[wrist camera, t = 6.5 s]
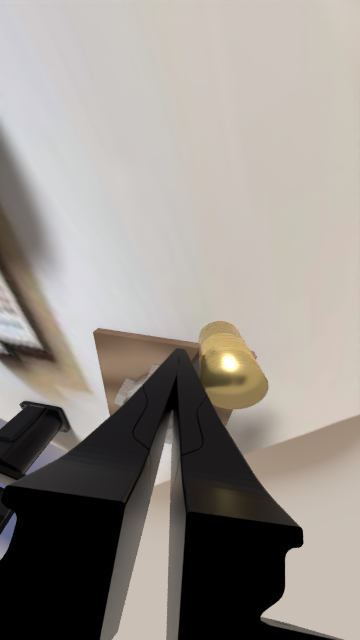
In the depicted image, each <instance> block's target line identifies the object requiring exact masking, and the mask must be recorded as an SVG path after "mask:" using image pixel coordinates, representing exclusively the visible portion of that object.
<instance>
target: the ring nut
mask: <svg viewBox="0 0 360 640" xmlns="http://www.w3.org/2000/svg"><path fill="white" fill-rule="evenodd" d="M192 363H193V365H194V367H195V369H196V372H197V374H198V376H199V378H200V380H201V382H202V384H203V386H204V388H205V390H206V392H207V394H208V396H209V398H210V400H211V402H212V404H213V405H215V406H217V407H220V408H225V409H242V408H247V407H250V406H252V405H254V404H256V403H258V402H259V401H261V400H262V399H263V398H264V396H265V395H266V393H267V391H268V381H267V379H266V377H265V375H264V374H263V372H262V370H261V369H260V367H259V365H258V363H257V362H256V360H255V358H254V357H253V355H252V353H251V352H250V350H249V348H248V347H247V345H246V343H245V341H244V340H243V338H242V336H241V335H240V333H239V331H238V330H237V328H236V327H235V326H234V325H232V324H230V323H228V322H224V321H217V322H213V323H210V324H208V325H206V326H205V327H204V328H203V329H202V330H201V332H200V334H199V351H198V352H197V354H196V355H195V357H194V358H193V359H192ZM159 366H160V365H152V366H151V369H150V371H149V373H147V374H144V375H142V376H140V377H139V378H137V379H136V380H135V381H134V380H132V379H129V378H126V380H125V382H124V383H123V385H122V387H121V388H120V390H119V392H118V394H117V396H116V399H115V401H114V403H115V404H117V405H120V406H122V405H123V404H124V403H125V402H126V401H127V400H128V399H129V398H130V397H131V396H132V395H133V394H134V393H135V392H136V391H137V390H138V389H139V388H140V387H141V386H142V385H143V383H144V382H145V381H146V380H147V379H148V378H149V377H150V376H151V375H152V374H153V373H154V371H155V370H156V369H157V368H158V367H159ZM172 420H173V410H172V414H171V418H170V422H169V426H168V430H167V434H166V438H165V442H164V443H169V444H172Z"/></svg>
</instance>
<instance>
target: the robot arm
mask: <svg viewBox="0 0 360 640" xmlns="http://www.w3.org/2000/svg"><path fill="white" fill-rule="evenodd" d="M20 406H21V408H22V409H23V410H22V411H21V412H19V413H18V414H17V415H16V416H15V417H14V418H13V419H11V420H10V421H9V422H8V423H7V424H6V425H5V426H4V427H2V428H1V429H0V482H1V483H3V484H6V485H8V486H6V487H5V489H4V488H2V487H0V534H1V533H2V531H3V529H4V528H5V526H6V525H7V523H8V522H9V520H10V518H11V517H12V515H13V514H14V512H15V513H16V516H17V521H16V525H15V529H14V533H13V536H12V539H11V542H10V545H9V547H8V550H7V551H6V553H5V555H4V556H3V558H2V559H1V560H0V640H112V639H113V637H114V636H115V634H116V633H117V631H118V628H119V623H120V620H121V616H122V612H123V607H124V603H125V600H126V595H127V591H128V587H129V583H130V579H131V575H132V571H133V567H134V563H135V559H136V555H137V551H138V547H139V543H140V539H141V535H142V531H143V527H144V523H145V519H146V515H147V511H148V507H149V503H150V498H151V494H152V491H153V487H154V483H155V479H156V475H157V471H158V467H159V463H160V459H161V455H162V450H163V446H164V442H165V438H166V434H167V430H168V426H169V422H170V418H171V414H172V410H173V420H172V457H171V493H170V501H171V503H170V530H169V567H168V603H167V607H168V608H167V637H166V638H167V639H166V640H343V639H339V638H336V637H333V636H329V635H326V634H322V633H319V632H315V631H312V630H308V629H305V628H301V627H298V626H295V625H291V624H287V623H284V622H280V621H276V620H272V619H268V618H263V617H260V616H261V615H262V613H263V612H264V611H265V610H267V609H268V608H269V607H271V606H272V605H274V604H275V603H276V602H277V601H279V600H280V598H281V597H282V596H283V593H284V590H285V556H286V553H287V552H288V551H289V550H290V549H292V548H299V547H301V546H302V545H303V530H302V528H301V527H300V526H299V525H298V524H297V523H296V522H295V521H294V520H293V519H292V518H291V517H290V516H289V515H288V514H287V513H286V512H285V511H284V510H283V509H282V508H281V507H280V505H278V503H277V502H276V501H275V500H274V499H273V498H272V497H271V496H270V494H269V493H268V492H267V491H266V490H265V488H264V487H263V486H262V484H261V483H260V482H259V480H258V479H257V478H256V476H255V474H254V473H253V471H252V470H251V468H250V467H249V465H248V463H247V462H246V460H245V459H244V457H243V455H242V454H241V452H240V450H239V449H238V447H237V446H236V444H235V442H234V441H233V439H232V437H231V436H230V434H229V433H228V431H227V429H226V428H225V426H224V424H223V423H222V421H221V419H220V418H219V416H218V414H217V412H216V410H215V408H214V406H213V404H212V402H211V400H210V398H209V396H208V394H207V392H206V390H205V388H204V386H203V384H202V382H201V380H200V378H199V376H198V374H197V372H196V369H195V367H194V365H193V363H192V361H191V359H190V357H189V355H188V353H187V351H186V349H185V348H178V347H177V348H175V350H174V351H173V352H172V353H171V354H170V355H169V356H168V357H167V358H166V359H165V361H164V362H163V363H162V364H161V365H160V366H159V367H158V368H157V369H156V370H155V371H154V373H153V374H152V375H151V376H150V377H149V378H148V379H147V380H146V381H145V382H144V383H143V385H142V386H141V387H140V388H139V389H138V390H137V391H136V392H135V393H134V394H133V395H132V396H131V397H130V398H129V399H128V400H127V401H126V402H125V403H124V404H123V405H122V406H121V407H120V408H119V409H118V410H117V411H116V412H114V413H113V414H112V415H111V416H110V417H109V418H108V419H107V420H105V421H104V422H103V423H102V424H101V425H100V426H99V427H98V428H96V429H95V430H94V431H93V432H92V433H91V434H90V435H89V436H88V437H86V438H85V439H84V440H83V441H82V442H81V443H79V444H78V445H77V446H76V447H74V448H73V449H72V450H70V451H69V452H68V453H66V454H65V455H63V456H61V457H60V458H59V459H57V460H55V461H53V462H51V463H49V464H47V465H45V466H44V467H42V468H40V469H38V470H36V471H34V472H32V473H30V474H28V475H25V473H26V472H27V470H28V469H29V468H30V467H31V465H32V464H33V463H34V462H35V460H36V459H37V458H38V457H39V455H40V454H41V453H42V451H43V450H44V449H45V448H46V446H47V445H48V444H49V443H50V441H51V440H52V439H53V438H54V436H55V435H56V434H57V433H58V431H61V432H68V431H69V427H68V424H67V422H66V420H65V418H64V416H63V414H62V411H61V409H60V408H58V407H52V406H47V405H42V404H36V403H31V402H25V401H23V402H22V403H20Z"/></svg>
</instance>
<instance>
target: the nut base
mask: <svg viewBox="0 0 360 640" xmlns="http://www.w3.org/2000/svg"><path fill="white" fill-rule="evenodd" d="M93 334H94V339H95V344H96V349H97V354H98V359H99V364H100V369H101V374H102V379H103V384H104V388H105V393H106V398H107V403H108V408H109V413H110V416H111V415H112V414H113V413H114V412H116V411H117V410H118V409H119V408H120V407H121V406H120V405H117V404H115V403H114V401H115V399H116V396H117V394H118V392H119V390H120V388H121V387H122V385H123V383H124V382H125V380H126V378H129V379H132V380H134V381H135V380H136V379H137V378H139V377H140V376H142V375H144V374H147V373H149V371H150V369H151V366H152V365H161V364H162V363H163V362H164V361H165V359H166V358H167V357H168V356H169V355H170V354H171V353H172V352H173V351H174V350H175V348H177V347H178V348H185V349H186V351H187V353H188V355H189V357H190V359H191V361H192V359H193V358H194V357H195V355H196V354H197V352H198V351H199V343H193V342H186V341H180V340H173V339H166V338H160V337H153V336H146V335H140V334H133V333H127V332H120V331H113V330H107V329H100V328H98V329H97V330H95V331H94V332H93ZM250 352H251V353H252V355H253V357H254V358H255V360H256V358H257V356H256V355H255V353H254V352H253V351H250ZM213 406H214V408H215V410H216V412H217V414H218V416H219V418H220V419H221V421H222V423H223V424H224V426H226V424H227V421H228V419H229V417H230V415H231V413H232V410H233V409H225V408H220V407H217V406H215V405H213Z"/></svg>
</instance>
